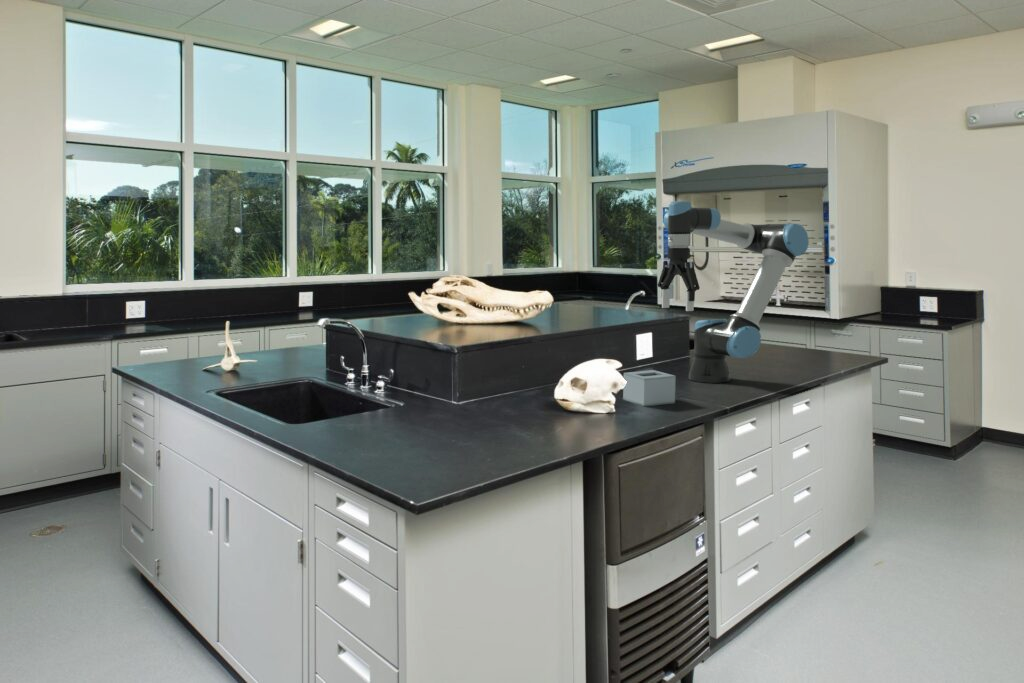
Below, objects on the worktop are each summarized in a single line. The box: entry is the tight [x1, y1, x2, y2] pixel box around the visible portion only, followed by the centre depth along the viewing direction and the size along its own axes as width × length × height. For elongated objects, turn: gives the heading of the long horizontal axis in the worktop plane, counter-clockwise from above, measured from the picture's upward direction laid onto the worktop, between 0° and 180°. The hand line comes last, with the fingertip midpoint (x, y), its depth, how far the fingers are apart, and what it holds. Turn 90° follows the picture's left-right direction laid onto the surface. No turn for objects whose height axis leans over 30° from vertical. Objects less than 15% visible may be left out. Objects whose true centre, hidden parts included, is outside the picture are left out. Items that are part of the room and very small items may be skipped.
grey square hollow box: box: [622, 369, 677, 408], centre depth 247 cm, size 12×12×9 cm
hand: (677, 309), depth 260 cm, fingers open, 13 cm apart
